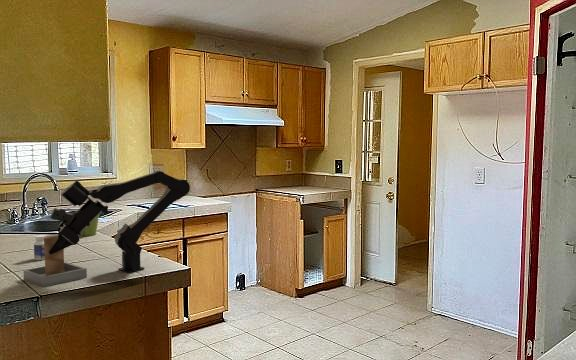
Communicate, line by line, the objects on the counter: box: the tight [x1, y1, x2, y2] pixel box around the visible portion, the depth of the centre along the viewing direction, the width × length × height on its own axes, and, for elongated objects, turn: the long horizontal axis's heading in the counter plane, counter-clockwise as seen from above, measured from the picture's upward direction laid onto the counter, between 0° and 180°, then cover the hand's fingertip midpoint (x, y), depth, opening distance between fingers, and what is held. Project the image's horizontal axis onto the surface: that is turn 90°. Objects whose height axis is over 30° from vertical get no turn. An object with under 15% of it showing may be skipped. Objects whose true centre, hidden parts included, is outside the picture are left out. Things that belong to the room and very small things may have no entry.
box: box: [23, 261, 88, 288], centre depth 161 cm, size 14×14×3 cm
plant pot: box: [79, 213, 101, 237], centre depth 240 cm, size 12×12×11 cm
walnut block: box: [44, 234, 65, 276], centre depth 160 cm, size 6×6×13 cm
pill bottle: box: [33, 234, 48, 261], centre depth 189 cm, size 5×5×9 cm
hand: (49, 251), depth 160 cm, fingers open, 6 cm apart
